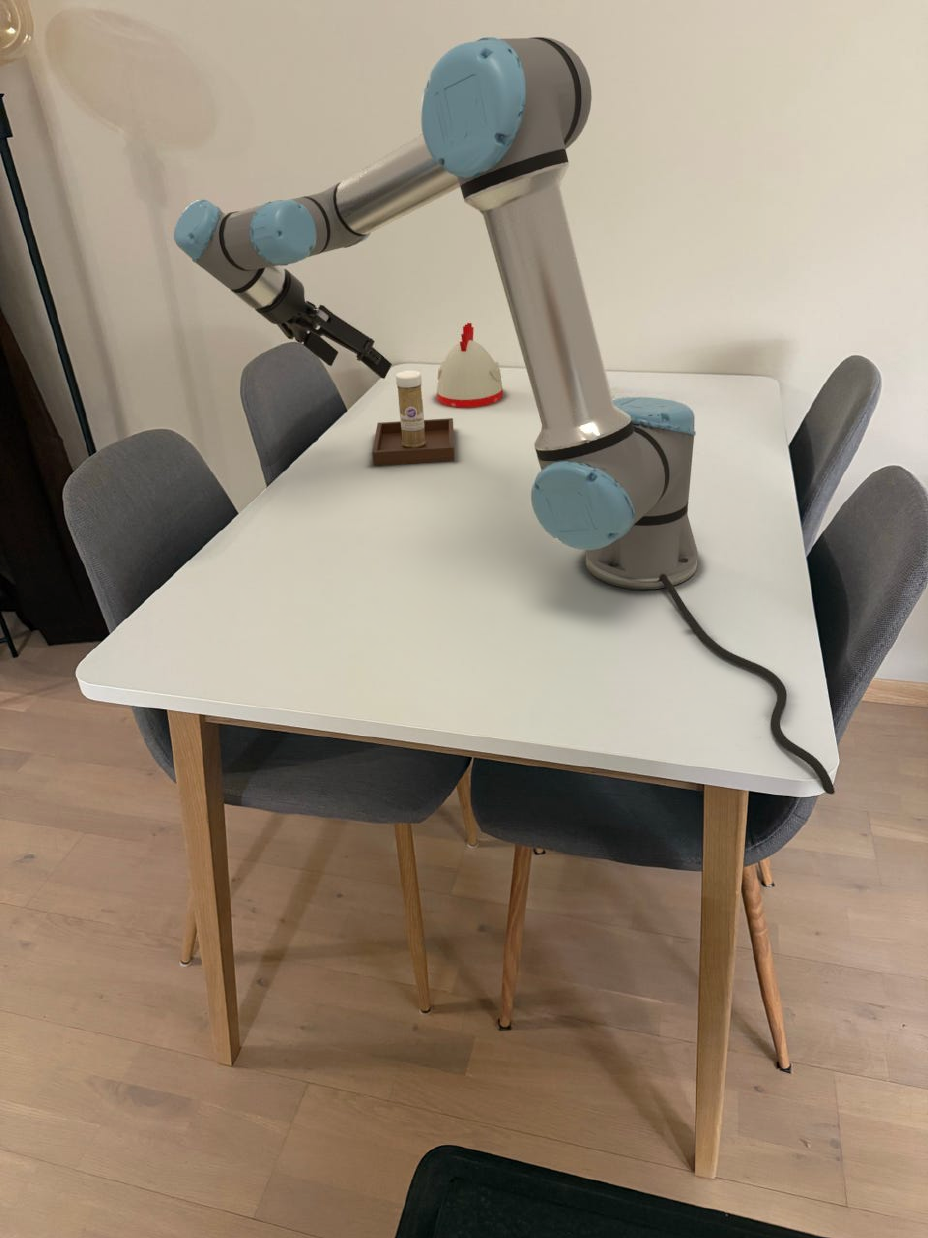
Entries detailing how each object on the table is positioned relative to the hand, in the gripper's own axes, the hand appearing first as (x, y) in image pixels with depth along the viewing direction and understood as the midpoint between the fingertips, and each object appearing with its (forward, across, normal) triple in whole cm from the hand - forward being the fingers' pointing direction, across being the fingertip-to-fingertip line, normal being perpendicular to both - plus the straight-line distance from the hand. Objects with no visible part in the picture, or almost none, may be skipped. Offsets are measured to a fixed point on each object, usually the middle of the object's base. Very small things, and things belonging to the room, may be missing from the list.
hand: (359, 364), depth 149 cm
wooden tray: (+23, +3, +4) cm, 24 cm away
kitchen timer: (+42, +15, -15) cm, 48 cm away
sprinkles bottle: (+23, +3, +4) cm, 23 cm away
